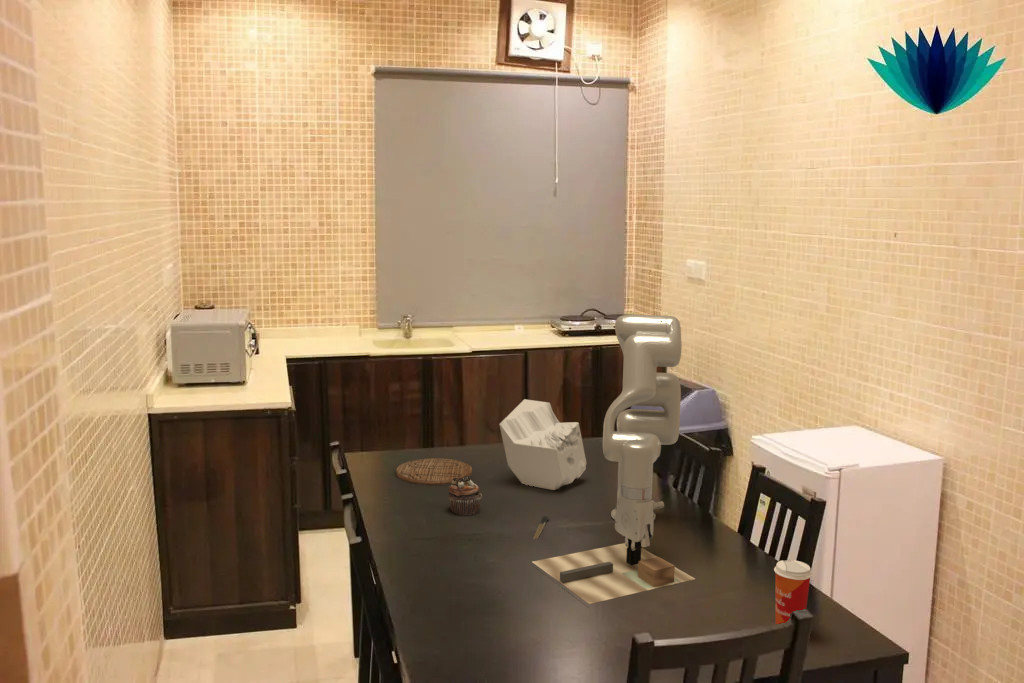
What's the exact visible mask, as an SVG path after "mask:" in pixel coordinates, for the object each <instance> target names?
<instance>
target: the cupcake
mask: <svg viewBox="0 0 1024 683" xmlns="http://www.w3.org/2000/svg"><path fill="white" fill-rule="evenodd" d="M482 496H483V494H482V493H481V492H480V487H479V485H477V484H476V483H474V481H473V480H472V479H471V478H468V476H465V477H463V478H460V479H457V478H454V479H453V481H452V484H450V485H449V487H448V500H449V503H450V508H451V512H452V513H453V512H454V513H456V514H455V515H457V514H461V515H460V516H464V515H467V516H473V515H472V514H474V515H476V514H478V513H479V512H480V509H481V501H482ZM478 511H479V512H478ZM454 513H453V514H454ZM475 513H476V514H475Z"/></svg>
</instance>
